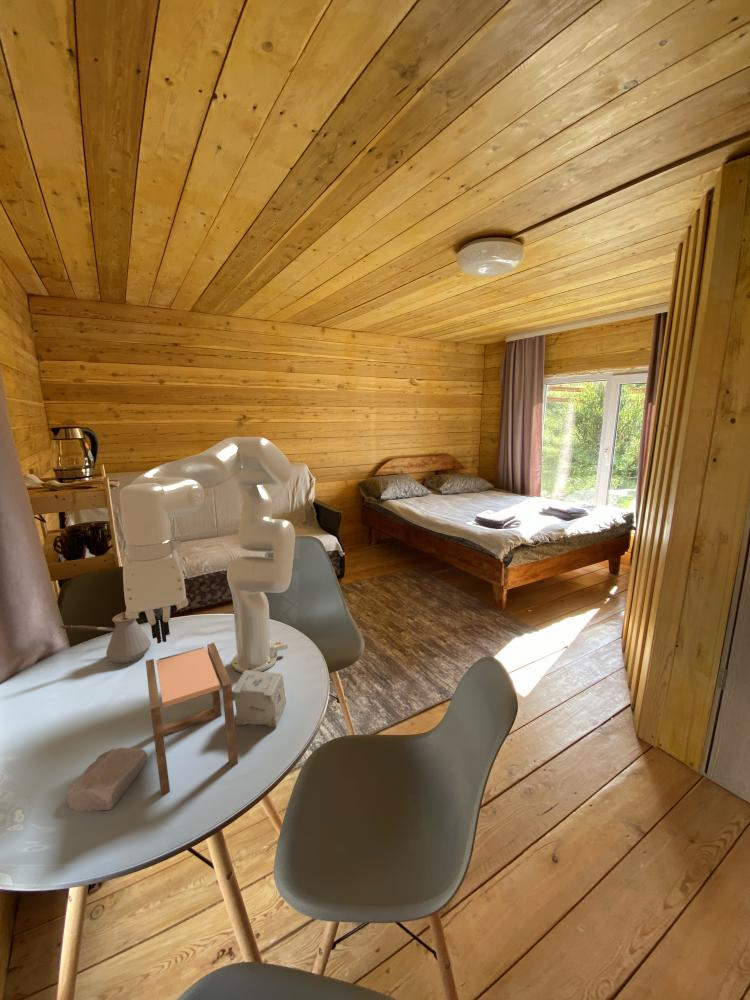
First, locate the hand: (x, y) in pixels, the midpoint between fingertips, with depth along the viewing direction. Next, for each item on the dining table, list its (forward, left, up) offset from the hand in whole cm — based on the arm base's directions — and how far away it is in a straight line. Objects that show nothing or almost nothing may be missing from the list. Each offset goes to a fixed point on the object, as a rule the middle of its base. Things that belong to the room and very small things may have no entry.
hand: (161, 639), depth 81 cm
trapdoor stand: (-4, -1, -27) cm, 27 cm away
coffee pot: (+12, -49, -27) cm, 57 cm away
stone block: (+12, 0, -27) cm, 30 cm away
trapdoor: (-4, -2, -11) cm, 12 cm away
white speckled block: (-18, -2, -27) cm, 33 cm away
